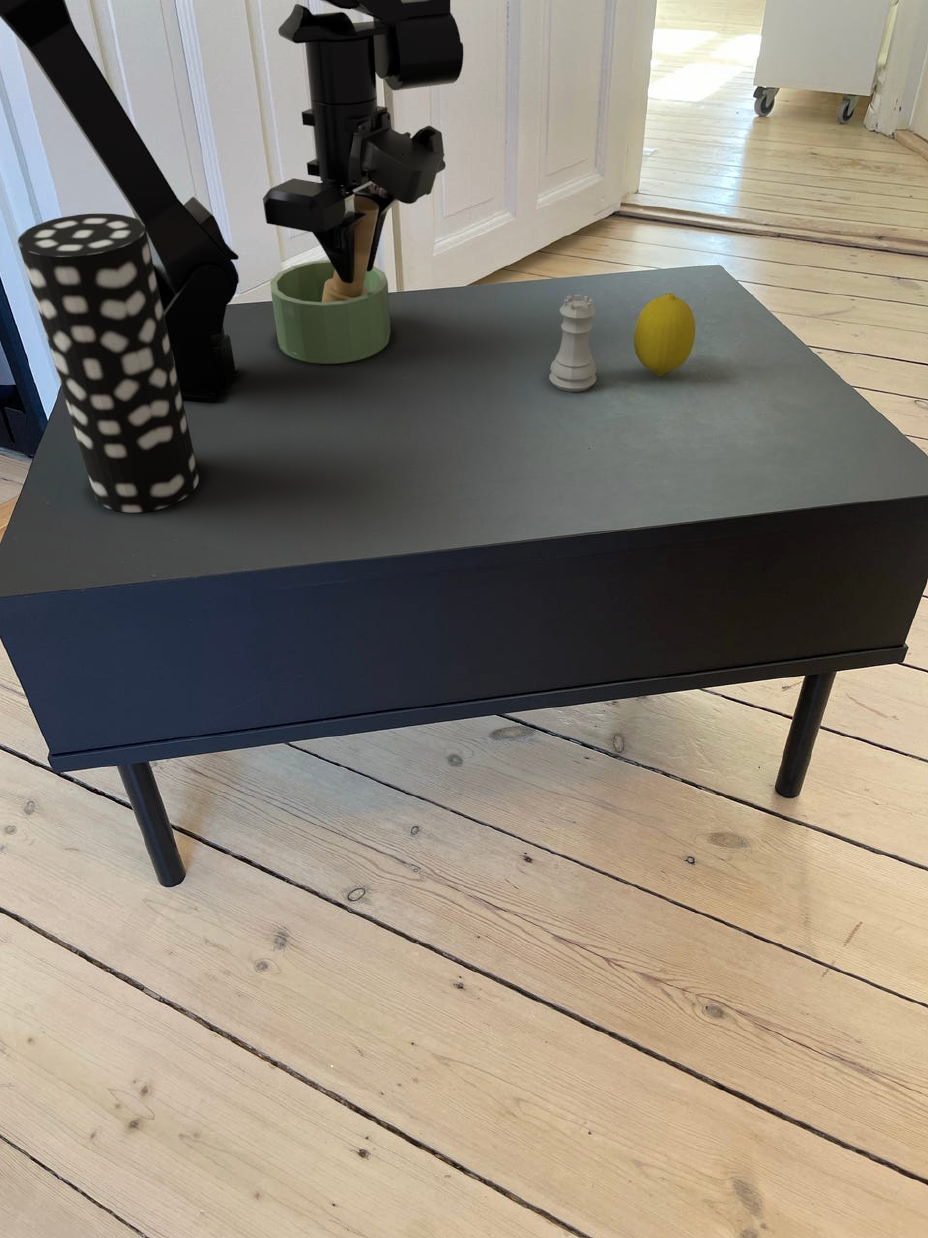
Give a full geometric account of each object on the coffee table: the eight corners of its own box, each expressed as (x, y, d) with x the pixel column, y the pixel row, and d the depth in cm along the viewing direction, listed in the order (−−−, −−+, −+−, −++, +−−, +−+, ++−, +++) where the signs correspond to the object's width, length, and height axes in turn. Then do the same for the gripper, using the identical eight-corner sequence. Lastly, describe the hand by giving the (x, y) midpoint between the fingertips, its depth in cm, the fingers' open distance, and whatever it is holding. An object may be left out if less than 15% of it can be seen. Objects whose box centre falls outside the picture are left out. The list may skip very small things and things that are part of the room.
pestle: (311, 326, 96) (332, 201, 87) (327, 309, 99) (348, 187, 91) (353, 342, 96) (378, 218, 87) (367, 324, 99) (392, 203, 91)
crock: (262, 358, 96) (253, 299, 92) (299, 311, 105) (292, 256, 101) (373, 368, 94) (369, 308, 90) (401, 320, 103) (399, 263, 99)
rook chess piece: (593, 395, 90) (601, 312, 85) (545, 391, 91) (550, 308, 85) (598, 373, 93) (605, 292, 88) (552, 369, 94) (556, 288, 89)
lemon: (623, 382, 92) (632, 300, 87) (638, 358, 96) (647, 278, 90) (681, 393, 90) (694, 309, 85) (693, 367, 94) (706, 286, 89)
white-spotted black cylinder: (111, 456, 82) (44, 212, 69) (209, 457, 82) (159, 213, 69) (79, 512, 76) (-3, 256, 63) (184, 513, 76) (125, 256, 63)
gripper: (364, 134, 74) (376, 329, 84) (477, 84, 87) (476, 259, 97) (247, 117, 78) (272, 305, 88) (371, 71, 91) (381, 240, 101)
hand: (357, 276), depth 94 cm, fingers closed on pestle, 3 cm apart
